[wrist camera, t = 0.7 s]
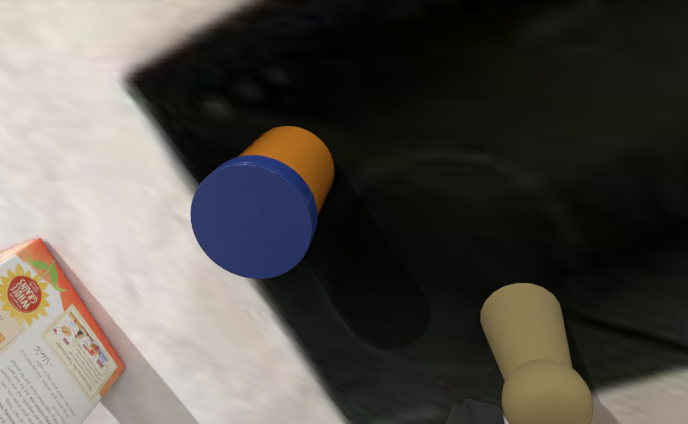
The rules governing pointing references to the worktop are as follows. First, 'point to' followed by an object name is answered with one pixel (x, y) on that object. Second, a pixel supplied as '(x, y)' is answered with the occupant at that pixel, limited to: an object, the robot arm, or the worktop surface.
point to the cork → (534, 357)
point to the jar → (299, 157)
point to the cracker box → (48, 343)
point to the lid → (254, 216)
